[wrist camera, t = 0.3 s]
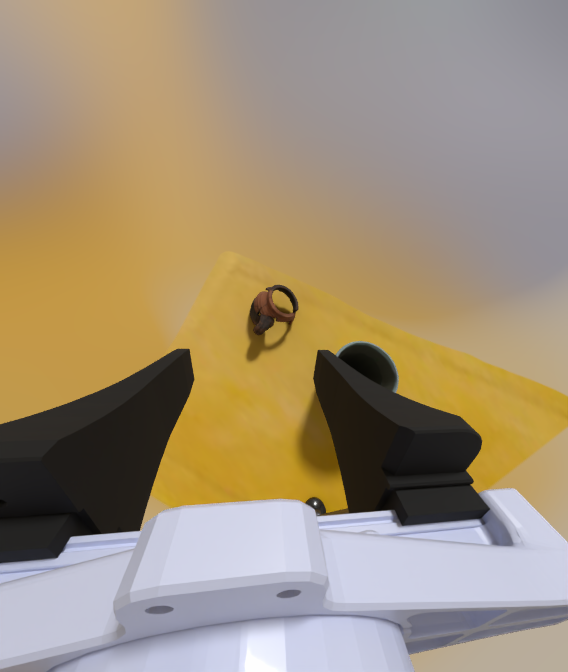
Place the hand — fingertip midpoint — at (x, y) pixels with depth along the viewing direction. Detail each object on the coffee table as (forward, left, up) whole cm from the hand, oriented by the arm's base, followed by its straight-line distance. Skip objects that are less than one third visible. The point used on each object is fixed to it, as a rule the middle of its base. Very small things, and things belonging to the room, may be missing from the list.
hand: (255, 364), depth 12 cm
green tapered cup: (0, -15, -31) cm, 34 cm away
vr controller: (+16, -3, -31) cm, 35 cm away
